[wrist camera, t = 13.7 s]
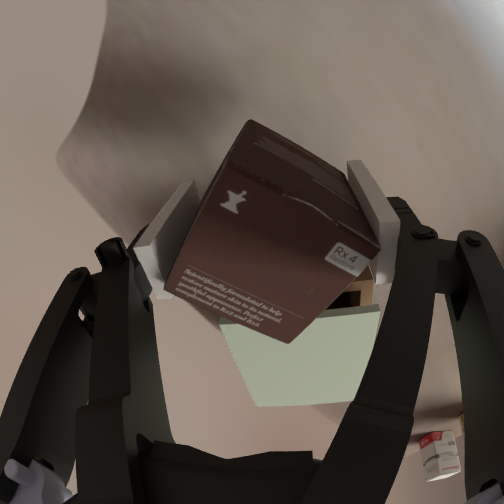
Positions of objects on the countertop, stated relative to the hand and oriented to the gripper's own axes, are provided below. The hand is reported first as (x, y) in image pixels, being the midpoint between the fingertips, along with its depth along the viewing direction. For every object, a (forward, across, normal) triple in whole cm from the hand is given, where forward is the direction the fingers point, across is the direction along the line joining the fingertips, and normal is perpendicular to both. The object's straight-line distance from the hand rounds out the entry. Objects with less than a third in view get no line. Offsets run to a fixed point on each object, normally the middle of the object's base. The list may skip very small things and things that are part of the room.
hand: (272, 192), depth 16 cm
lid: (-1, +1, -14) cm, 14 cm away
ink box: (+7, +31, -65) cm, 72 cm away
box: (+1, 0, 0) cm, 1 cm away
